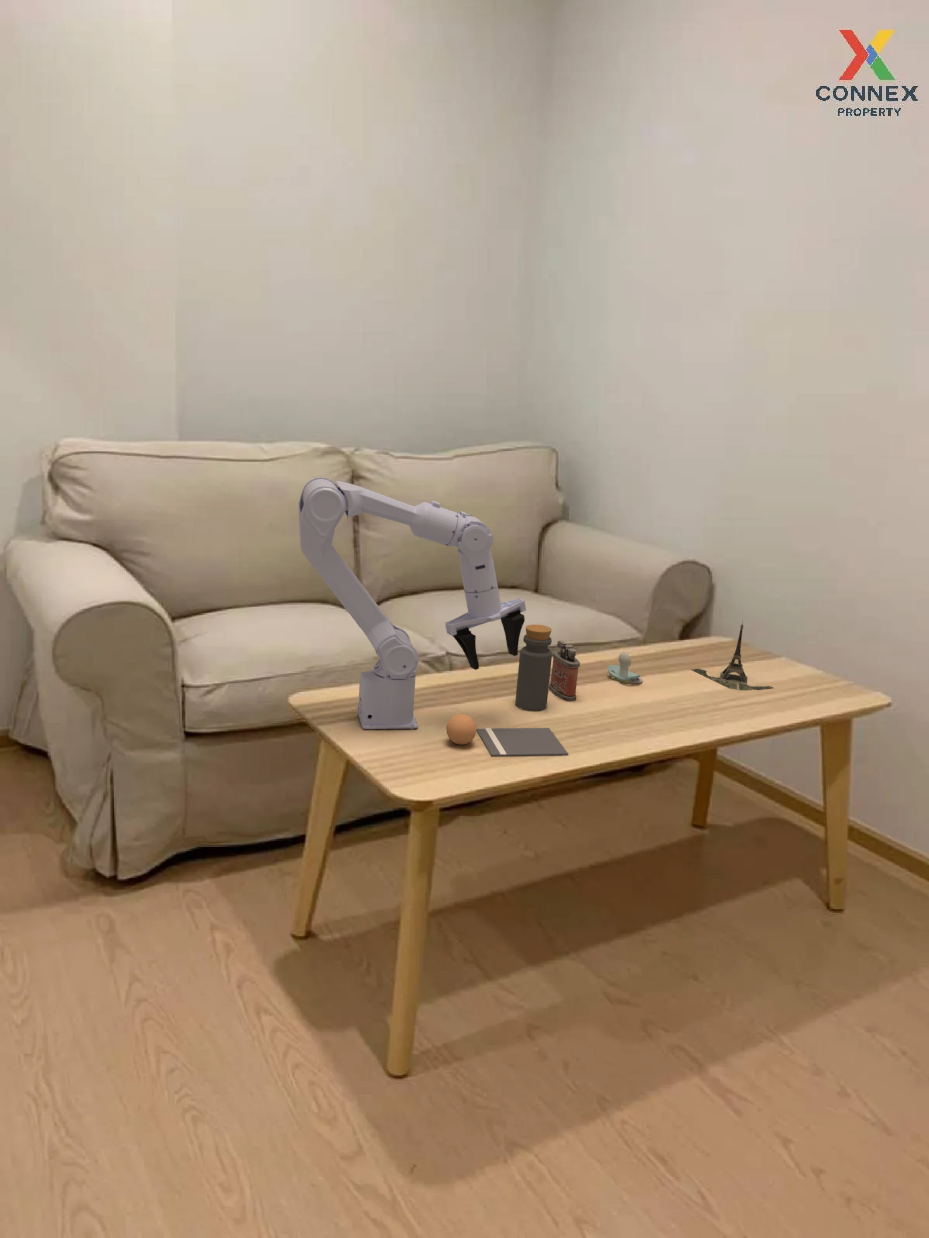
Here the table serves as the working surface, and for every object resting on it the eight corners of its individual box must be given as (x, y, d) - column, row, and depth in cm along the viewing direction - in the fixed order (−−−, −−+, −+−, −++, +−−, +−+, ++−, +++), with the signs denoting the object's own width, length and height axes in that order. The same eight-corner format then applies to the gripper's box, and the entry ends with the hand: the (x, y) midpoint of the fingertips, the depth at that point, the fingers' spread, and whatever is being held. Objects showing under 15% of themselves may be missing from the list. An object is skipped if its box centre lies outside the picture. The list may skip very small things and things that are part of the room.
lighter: (579, 700, 192) (585, 650, 190) (563, 701, 191) (569, 651, 188) (560, 686, 200) (565, 637, 197) (545, 687, 198) (550, 638, 196)
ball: (448, 749, 165) (450, 720, 164) (442, 737, 170) (444, 709, 169) (478, 749, 166) (480, 720, 165) (471, 737, 171) (474, 709, 170)
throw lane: (491, 756, 164) (491, 754, 164) (476, 730, 174) (476, 728, 174) (568, 755, 167) (568, 753, 167) (548, 729, 177) (549, 727, 177)
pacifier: (623, 673, 211) (602, 676, 208) (627, 644, 210) (607, 647, 206) (649, 684, 206) (628, 688, 202) (653, 655, 204) (632, 658, 200)
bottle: (520, 711, 184) (528, 632, 180) (510, 700, 190) (518, 623, 186) (551, 710, 186) (559, 632, 182) (540, 699, 191) (548, 623, 187)
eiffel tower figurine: (688, 671, 217) (697, 611, 213) (724, 667, 222) (733, 608, 218) (738, 695, 204) (748, 631, 201) (774, 690, 209) (785, 628, 206)
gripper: (452, 604, 166) (467, 680, 170) (529, 579, 171) (541, 653, 175) (435, 595, 172) (449, 669, 176) (509, 572, 177) (521, 644, 182)
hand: (494, 661), depth 176 cm, fingers open, 7 cm apart
